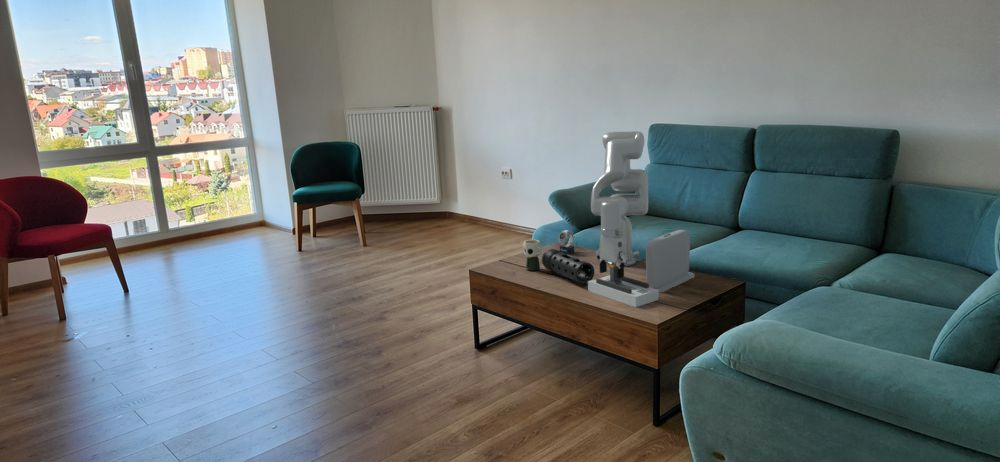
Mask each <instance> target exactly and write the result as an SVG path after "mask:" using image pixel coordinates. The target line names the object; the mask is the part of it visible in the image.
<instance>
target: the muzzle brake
mask: <svg viewBox="0 0 1000 462" xmlns="http://www.w3.org/2000/svg"><path fill="white" fill-rule="evenodd" d="M541 264H542V265H543V266H544V268H545V269H547V270H548V271H550V272H554V273H555V275H558V276H559V277H560V276H561V277H562V276H563V277H566V278H567V279H568V280H571V281H572V282H574V283H576V284H579V285H582V286H587V285H588V281H591V280H593V278H594V276H595V268H594V265H593V264H592V263H590V262H587V261H585V260H582V259H580V258H578V257H575V256H572V255H571V254H564V253H562V252H561V251H560V249H559V250H558V249H555V248H552V249H551V248H550V249H547V250H546V251H544V253H542V255H541Z"/></svg>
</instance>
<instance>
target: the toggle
mask: <svg viewBox="0 0 1000 462" xmlns="http://www.w3.org/2000/svg"><path fill="white" fill-rule="evenodd" d="M619 264H620V263H619ZM617 268H618V267H617V265H616V263H611V264H609V275H610V280H608V282H611V283H614V284H618V283H622V281H621V280H619V279H618V278H617Z"/></svg>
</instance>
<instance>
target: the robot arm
mask: <svg viewBox="0 0 1000 462" xmlns="http://www.w3.org/2000/svg"><path fill="white" fill-rule="evenodd" d="M602 144H603V148H604V149H605V153H604V155H605V156H604V168H603V169H604V171H603V174H602V175H601V176H600V177H599V178H598V179H597V180H596V181H595V182H594V185H593V187H592V190H591V195H590V197H591V198H590V211H591V213H592V214H593V215H594V216H600V229H601V230H600V231H601V232H600V234H601V235H600V239H599V247H598V249H596V250H595V255H596V259H597V261H598V263H599V273H600V274H602V273H607V271H608V268H607V264H608V265H610V264H611V263H616V265H617V267H618V268H617V278H618V279H619V278H622V277H624V276H625V268H626V267H630V266H633V265H636V263H637V260H636V259H635V257H637V256H640V252H639V251H638V250H636V251H633V225H632V223H631V220H630V219H629V218H628V217H627V216H645V215H647V213H648V211H649V177H648V174H647V172H646V170H644V169H640V168H638V169H637V168H635V169H634V168H633V169H632V168H631V160H639V159H641V157H642V155H643V151H644V148H645V135H644V134H643V132H641V131H638V130H637V131H611V132H606V133H603V135H602ZM608 186H611V188H612V190H614V191H617V192H636V193H614V194H611V195H610V196H600V193H601V191H603V190H604V189H605V188H606V187H608ZM619 263H620V264H619Z"/></svg>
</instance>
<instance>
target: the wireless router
mask: <svg viewBox="0 0 1000 462" xmlns="http://www.w3.org/2000/svg"><path fill="white" fill-rule="evenodd" d="M690 250H691V233H690V231H689V230H686V229H676V230H675V231H672V232H668V233H665V234H662V235H661V236H658V237H655V238H653V239H650V240H649V241H648V242H647V244H646V245H645V273H646V275H645V276H646V283H648V284H649V287H651V288H654V289H658V294H660V293H665V292H666V291H669V290H671V289H673V288H675V287H676V286H679V285H681V284H683V283H685V282H687V281H689V279H690V280H691V278H692V279H693V278H695V275H696V274H695V273H693V272H690V271H689V270H690V254H691V253H690V252H691V251H690ZM672 287H673V288H672ZM670 288H671V289H670Z"/></svg>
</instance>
